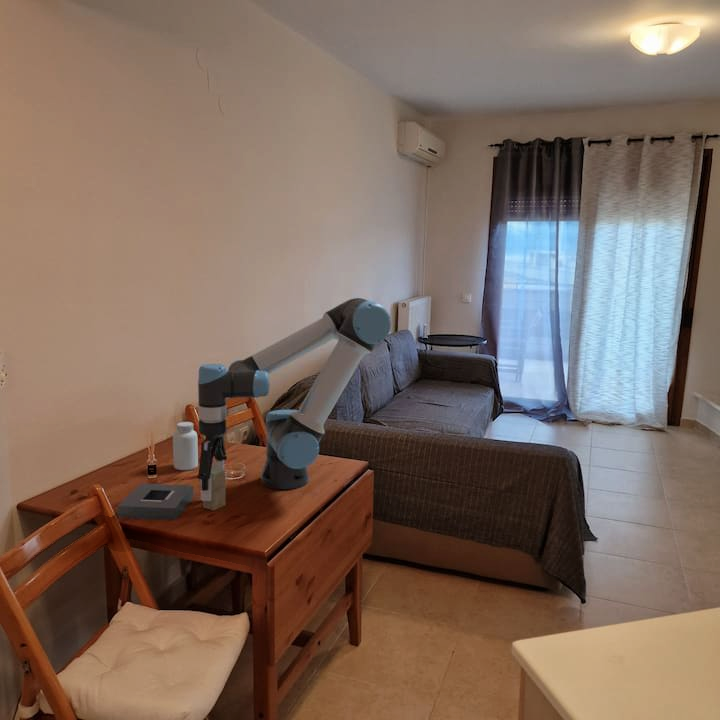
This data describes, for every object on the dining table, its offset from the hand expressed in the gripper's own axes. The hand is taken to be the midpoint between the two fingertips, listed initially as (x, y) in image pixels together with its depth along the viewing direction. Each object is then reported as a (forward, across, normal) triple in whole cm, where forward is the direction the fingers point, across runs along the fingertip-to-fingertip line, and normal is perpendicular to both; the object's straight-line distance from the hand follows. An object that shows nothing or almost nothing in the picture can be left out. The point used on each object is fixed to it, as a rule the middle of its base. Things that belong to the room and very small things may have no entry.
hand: (212, 490), depth 178 cm
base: (+5, +2, -16) cm, 16 cm away
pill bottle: (+5, -30, -18) cm, 35 cm away
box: (+5, 0, 0) cm, 5 cm away
